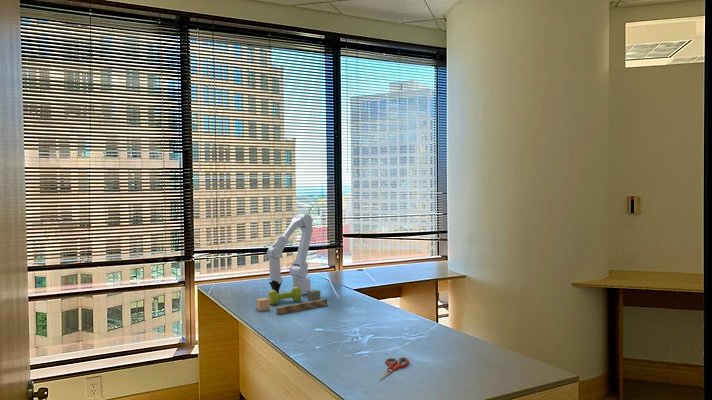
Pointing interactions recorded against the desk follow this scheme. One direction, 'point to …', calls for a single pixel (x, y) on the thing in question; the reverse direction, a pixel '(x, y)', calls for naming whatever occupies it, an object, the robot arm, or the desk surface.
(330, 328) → the desk surface
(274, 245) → the robot arm
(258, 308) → the terracotta block
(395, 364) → the scissors
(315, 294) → the charcoal block
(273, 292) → the dumbbell
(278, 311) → the bar
